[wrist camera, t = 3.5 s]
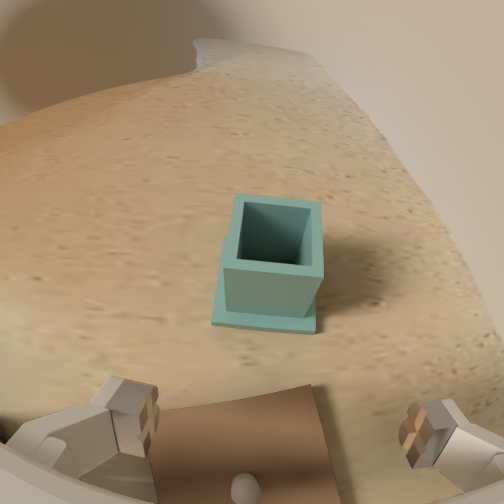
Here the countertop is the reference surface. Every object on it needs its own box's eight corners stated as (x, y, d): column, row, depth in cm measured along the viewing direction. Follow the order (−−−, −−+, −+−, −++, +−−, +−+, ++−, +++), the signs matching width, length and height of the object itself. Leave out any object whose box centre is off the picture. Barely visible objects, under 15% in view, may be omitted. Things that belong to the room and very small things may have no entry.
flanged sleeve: (313, 334, 25) (340, 293, 18) (212, 325, 25) (203, 280, 18) (313, 250, 29) (333, 193, 23) (225, 241, 29) (223, 181, 23)
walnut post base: (341, 526, 16) (371, 546, 11) (179, 556, 14) (162, 586, 9) (306, 387, 22) (327, 371, 17) (147, 413, 21) (120, 405, 16)
